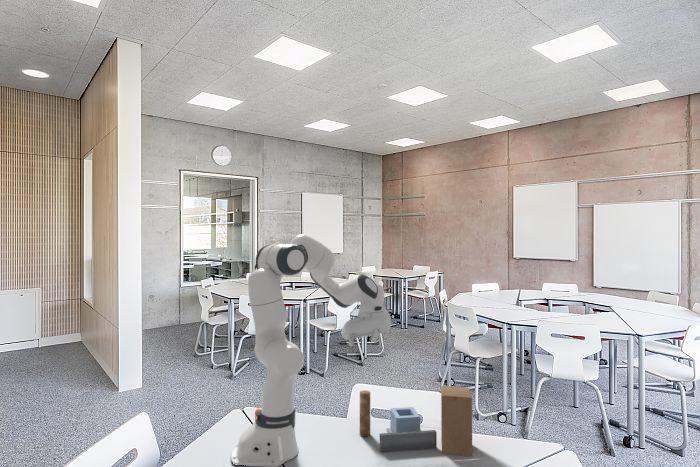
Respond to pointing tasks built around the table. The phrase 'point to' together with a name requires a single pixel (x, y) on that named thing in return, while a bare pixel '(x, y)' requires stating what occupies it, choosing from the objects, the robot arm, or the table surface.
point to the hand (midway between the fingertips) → (361, 343)
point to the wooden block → (456, 420)
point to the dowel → (364, 413)
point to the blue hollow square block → (404, 420)
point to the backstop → (407, 440)
